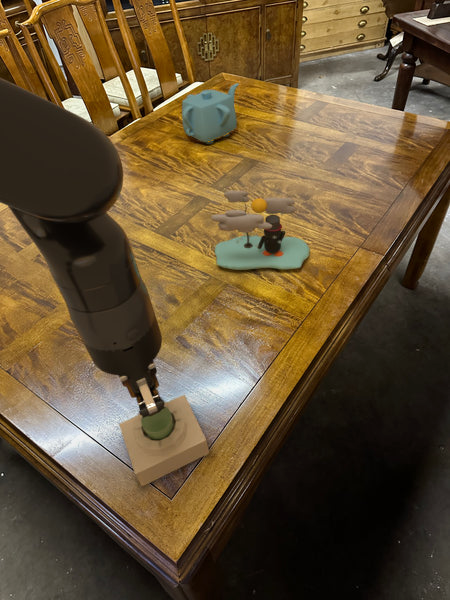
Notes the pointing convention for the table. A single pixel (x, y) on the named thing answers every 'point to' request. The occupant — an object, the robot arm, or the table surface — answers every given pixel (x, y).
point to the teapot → (209, 114)
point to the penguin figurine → (256, 249)
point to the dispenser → (164, 443)
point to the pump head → (158, 424)
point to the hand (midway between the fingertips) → (153, 409)
